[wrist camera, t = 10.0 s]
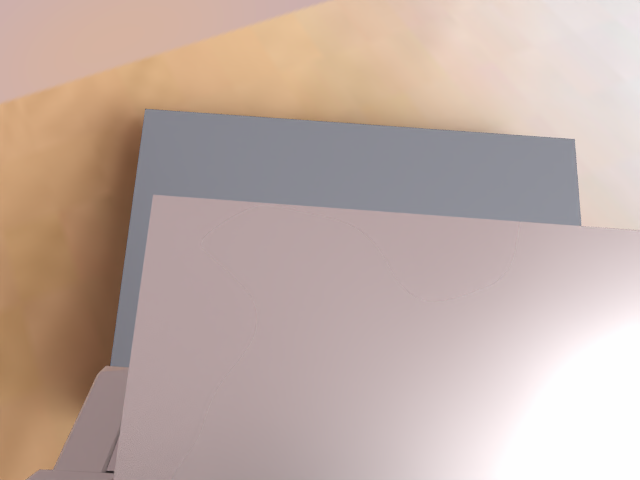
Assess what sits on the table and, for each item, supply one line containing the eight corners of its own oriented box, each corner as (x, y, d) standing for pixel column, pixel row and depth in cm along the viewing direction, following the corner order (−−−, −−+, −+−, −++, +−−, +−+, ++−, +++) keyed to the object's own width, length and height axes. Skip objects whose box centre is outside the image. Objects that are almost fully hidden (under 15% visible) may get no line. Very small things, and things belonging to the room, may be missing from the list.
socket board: (120, 429, 27) (101, 431, 24) (157, 137, 31) (145, 108, 28) (565, 448, 28) (599, 452, 25) (547, 164, 32) (574, 139, 29)
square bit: (239, 522, 14) (28, 1098, 2) (252, 367, 15) (152, 194, 3) (391, 529, 14) (942, 1102, 2) (394, 376, 15) (798, 241, 3)
